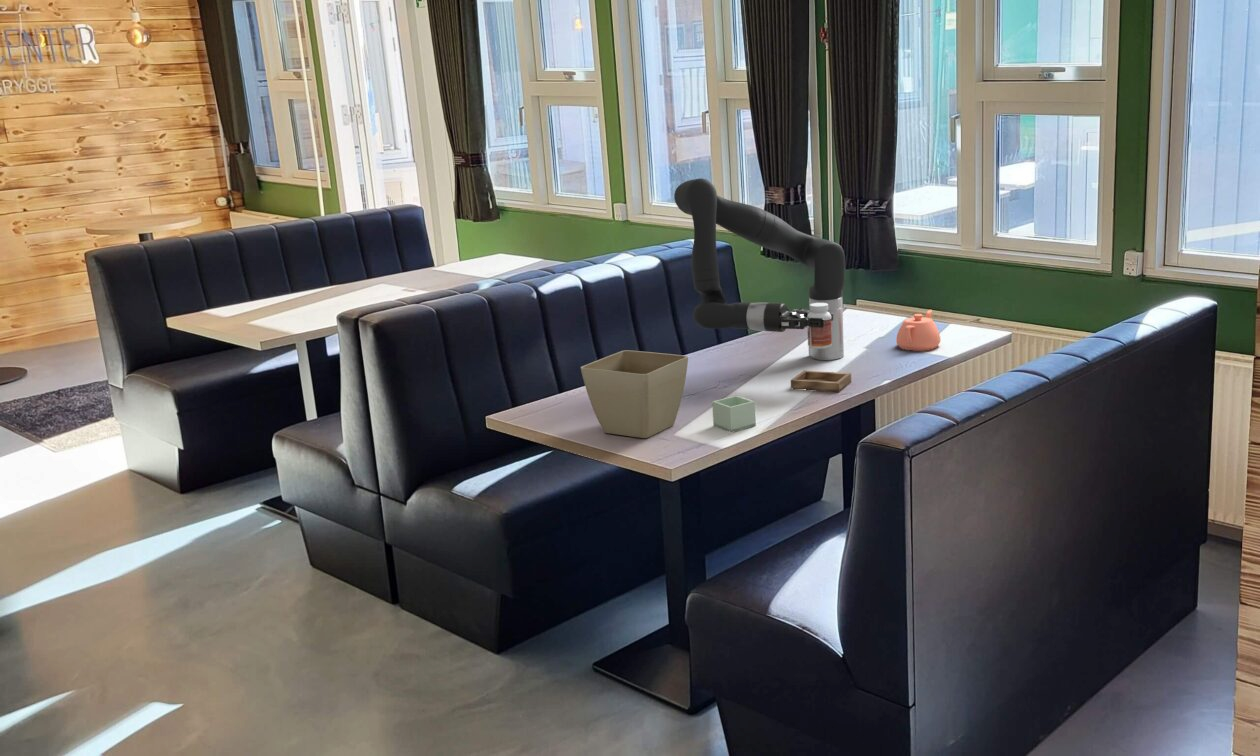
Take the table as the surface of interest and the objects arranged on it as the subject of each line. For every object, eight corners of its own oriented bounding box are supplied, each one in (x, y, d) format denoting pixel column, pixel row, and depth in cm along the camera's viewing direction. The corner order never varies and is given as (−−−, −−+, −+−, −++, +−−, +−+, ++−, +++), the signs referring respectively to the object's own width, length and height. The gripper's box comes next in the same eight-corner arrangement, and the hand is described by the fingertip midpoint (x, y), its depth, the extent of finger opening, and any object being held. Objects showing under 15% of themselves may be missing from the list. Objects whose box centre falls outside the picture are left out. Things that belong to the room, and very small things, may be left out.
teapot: (886, 351, 350) (886, 319, 347) (912, 337, 364) (912, 306, 361) (927, 355, 343) (926, 322, 340) (951, 340, 357) (951, 308, 354)
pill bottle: (837, 346, 316) (836, 304, 313) (819, 350, 313) (818, 308, 310) (820, 342, 321) (819, 300, 318) (802, 346, 318) (801, 304, 315)
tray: (790, 389, 319) (790, 380, 318) (804, 379, 327) (804, 370, 327) (838, 392, 313) (838, 383, 312) (851, 382, 321) (851, 373, 320)
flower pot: (629, 413, 307) (624, 348, 303) (693, 422, 296) (690, 354, 292) (584, 435, 292) (578, 367, 288) (650, 445, 282) (645, 374, 277)
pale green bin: (713, 425, 293) (712, 401, 291) (737, 419, 296) (736, 395, 295) (731, 432, 287) (730, 407, 285) (755, 425, 290) (754, 401, 289)
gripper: (756, 308, 315) (818, 311, 307) (777, 297, 327) (837, 299, 319) (757, 337, 317) (819, 340, 309) (777, 324, 329) (837, 328, 321)
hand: (828, 320), depth 314 cm, fingers closed on pill bottle, 6 cm apart
